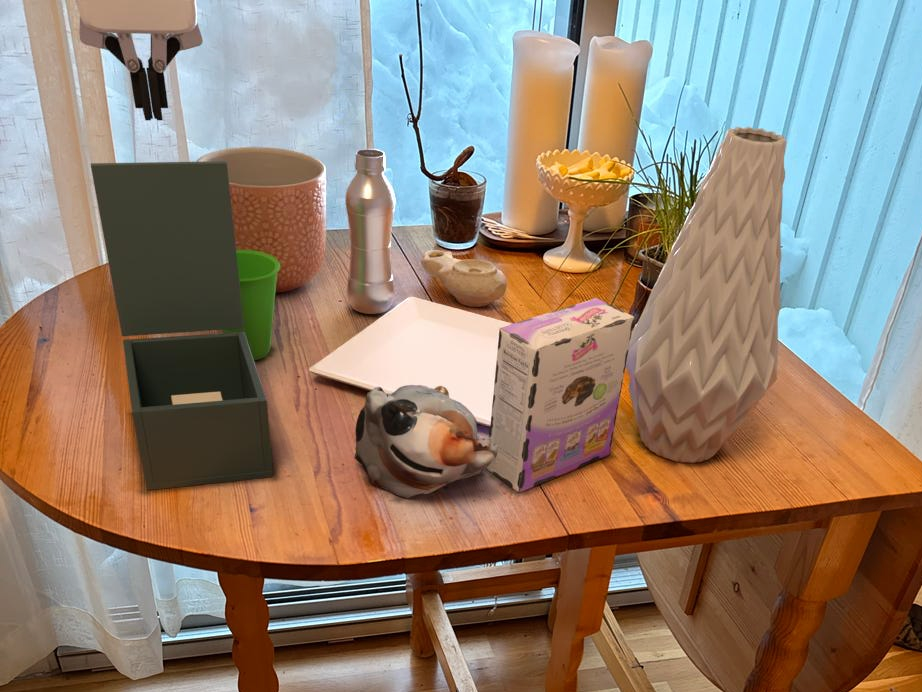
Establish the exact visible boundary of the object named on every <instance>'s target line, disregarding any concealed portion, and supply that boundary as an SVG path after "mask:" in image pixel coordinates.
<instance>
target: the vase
mask: <svg viewBox="0 0 922 692" xmlns="http://www.w3.org/2000/svg"><path fill="white" fill-rule="evenodd" d="M786 148H787V139H786V138H785V137H784V135H783V134H777V133H776V131H775V130H774V131H767V130H765V129H764V128H762V127H761V128H756V129H755V128H753V127H750V126H746V127H744V128H743V127H739V126H735V127H734V128H728V129H727V131H726V134H725V137H724V139H723V140H722V142H720V143H719V147H718V150H717V152H716V153H715V154H716V155H715V156H714V158H713V161H712V162H711V164H710V167H709V170H708V171H707V173H706V174H705V176H704V177H703V180H702V182H701V185H700V187H699V190H698V194H697V196H696V199H695V202H694V204H693V206H692V207H691V209H690V210H689V213H688V215H687V218H686V219H685V222H684V224H683V226H682V227H681V230H680V232H679V234H678V236H677V238H676V240H675V241H674V244H673V245H672V247H671V249H670V252H669V254H668V256H667V258H666V261H665V262H664V265H663V267H662V269H661V270H660V273H659V275H658V277H657V279H656V282H655V284H654V285H653V288H652V289H651V291H650V294H649V296H648V299H647V301H646V303H645V306H644V308H643V310H642V312H641V315H640V317H639V319H638V321H637V323H636V324H635V325H634V326H633V327H634V328H632V333H631V339H630V344H629V350H628V356H627V361H626V367H625V369H626V371H627V374H628V376H629V382H628V393H629V397H630V400H631V405H632V409H633V415H634V418H635V423H636V425H637V426H638V431H639V436H640V439H641V442H642V443H643V445H644V447H645V448H648V450H649V451H650V452H652V453H654V454H655V455H656V456H658V457H662V458H664V459H668V460H670V461H672V462H679V463H682V464H683V463H692V464H695V463H701V462H703V461H707V460H710V459H711V458H713V457H715V455H716V454H717V453H718V452H719V450H721V448H722V447H723V445H724V443H725V442H727V441H729V440H732V439H733V438H734V437H736V434H737V433H738V432H739V430H740V428H741V427H742V426H743V424H744V423H745V422H746V420H747V419H748V418H749V416H751V414H752V413H753V411H755V409H756V406H757V404H758V403H759V402H760V401H761V400H762V399H763V398H764V397H765V395H766V393H767V392H768V390H770V388H771V387H773V385H775V383H776V382H777V380H778V373H779V372H778V371H779V370H778V369H779V322H778V321H779V320H778V318H779V315H780V311H781V299H782V298H781V263H782V242H781V238H782V237H781V236H782V233H781V225H782V224H781V223H782V218H783V215H782V214H783V195H784V193H783V192H784V191H783V189H784V187H783V186H784V183H785V179H786V170H785V169H786V168H785V155H786Z"/></svg>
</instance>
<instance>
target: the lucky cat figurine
mask: <svg viewBox="0 0 922 692" xmlns="http://www.w3.org/2000/svg"><path fill="white" fill-rule="evenodd" d="M354 430H355V444H356V445H355V452H354V459H355V460H356V461H357V463H359V464H360V465H361V466H362V468H363V469H364V471H365V474H366V475H367V478H368V482H369V483H371V484H372V485H375V486H377V487H379V488H382V489H384V490H385V491H388V492H390V493H392V494H394V495H397V496H399V497H403V498H405V499H409V498H411V497H414V496H417V495H421V494H424V495H428V494H431V493H433V492H434V491H436V490H439V489H441V488H442V487H444V486H447V485H449V484H452V483H455V482H457V481H461V480H464V479H468V478H471V477H474V476H476V475H479V474H481V473H482V470H483V469H485V468H486V466H488V465H490V464H491V462H492V461H493V460H494V459H495V458H496V456H497V450H498V444H496V445H494V443H493V442H492V441H491V440H490V439H489V438H484V437H479V435H478V423H477V421H476V418H475V417H474V415H473V414H472V413H471V412H470V411H469V410H468V409H467V407H465V406H464V405H463V404H461V403H460V402H458V401H456V400H453V399H451V398H449V393H448V390H447V389H446V388H445V387H443V386H438V387H436V388H435V389H433V388H428V387H427V386H422V385H417V386H416V385H406V386H402V387H400V388H398V389H397V390H396V391H395V392H393V393H392V394H390V393H385V392H384V391H383V389H382V388H381V387H376V388H374V389H373V390H372V391H369V392H367V394H366V396H365V403H364V405H363V407H362V408H361V409H360V411H359V414H358V417H357V419H356V423H355V429H354Z"/></svg>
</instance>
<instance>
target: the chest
mask: <svg viewBox="0 0 922 692" xmlns="http://www.w3.org/2000/svg"><path fill="white" fill-rule="evenodd" d="M122 344H123V350H124V351H123V352H124V360H125V367H126V368H125V369H126V377H127V385H128V391H129V399H130V409H131V414H132V419H133V420H132V421H133V425H134V430H135V436H136V441H137V446H138V451H139V457H140V462H141V467H142V473H143V477H144V483H145V488H146V491H155V490H156V491H157V490H164V489H174V488H183V487H193V486H201V485H211V484H219V483H220V484H221V483H228V482H238V481H247V480H256V479H264V478H265V479H266V478H273V477H274V471H273V470H274V469H273V458H272V445H271V434H270V433H271V432H270V419H269V409H268V399H267V397H266V396H267V395H266V393H265V390H264V388H263V384H262V381H261V378H260V376H259V373H258V369H257V366H256V362H255V360H253V357H252V354H251V351H250V348H249V345H248V342H247V339H246V336H245V333H244V332H232V333H222V332H219V333H205V334H204V333H203V334H188V335H173V336H159V337H158V336H156V337H145V338H143V337H142V338H127V339H122ZM208 392H221V396H222V400H223V401H211V402H199V403H188V404H176V405H172V399H171V396H172V395H184V394H196V393H208Z"/></svg>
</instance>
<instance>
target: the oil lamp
mask: <svg viewBox="0 0 922 692" xmlns="http://www.w3.org/2000/svg"><path fill="white" fill-rule="evenodd" d="M421 266H422V268H423V270H424V271H425V272H426V273H427V274H428V275H429V276H432V277H433V278H435V279H439V281H440V283H441V285H443V286H444V287H445V288H446V290H447V291H448V292H449V293H450V294H451V295H452V296H453V297H455V299H456V301H457V302H458V303H459V304H461V305H463V306H466V307H471V308H473V307H475V308H478V307H480V308H481V307H486V306H488V305H490V303H492V302H495V301H497V300H499V299H501V298H502V297H503V296H504V295H505V294H506V291H507V287H508V285H507V284H508V282H507V278H506V276H505V274H504V273H503V272H502V271H501V270H500V269H499V268H497V266H496V265H495V264H493V263H492V262H490V261H486V260H483V259H474V258H472V259H471V258H470V259H458V258H455V257H454V256H453V253H452V252H451V251H443V250H440V249H436V250H435V249H434V250H432V249H431V250H426V251H425V252H424V253H423V258H422V260H421Z"/></svg>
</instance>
